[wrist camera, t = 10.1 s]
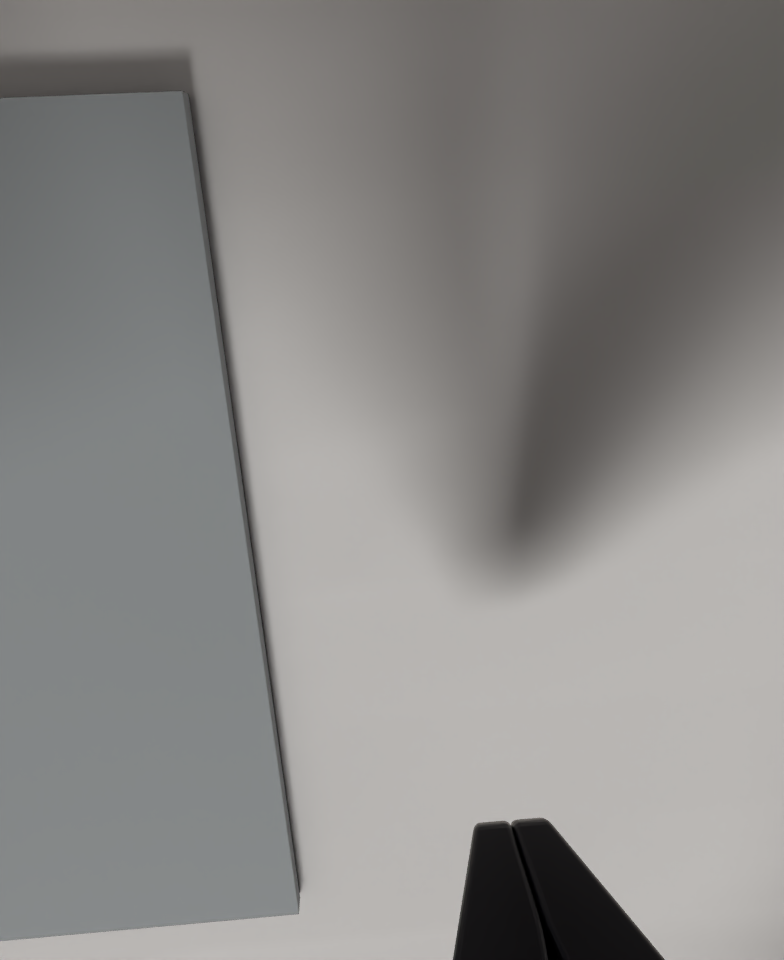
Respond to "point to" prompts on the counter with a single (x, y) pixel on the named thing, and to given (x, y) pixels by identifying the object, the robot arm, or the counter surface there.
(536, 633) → the counter surface
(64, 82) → the counter surface
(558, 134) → the counter surface
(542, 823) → the robot arm
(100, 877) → the mat
